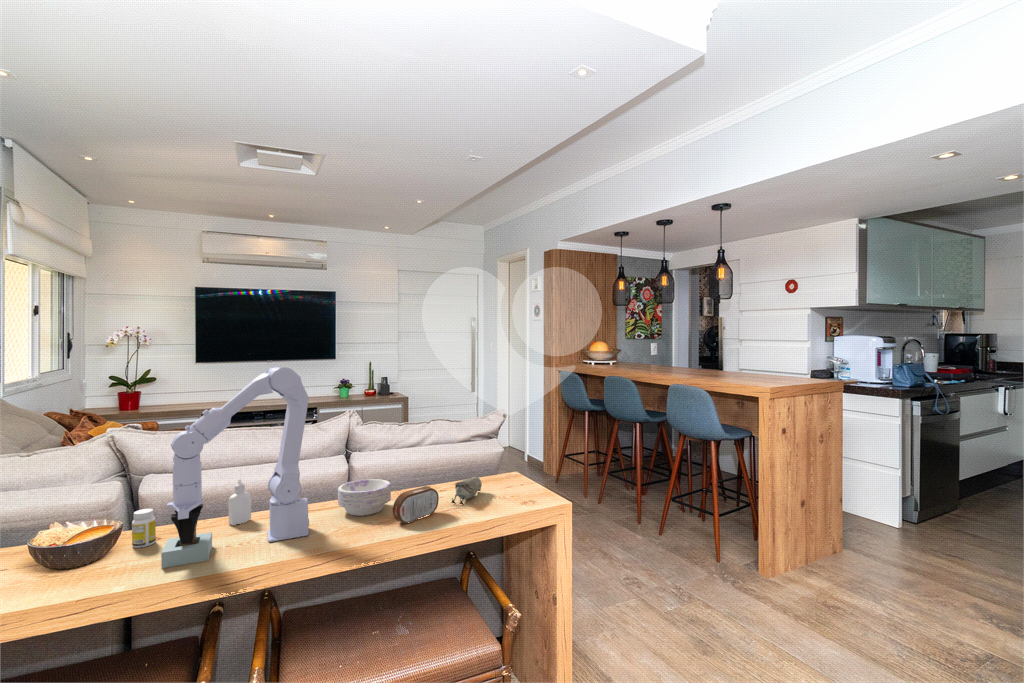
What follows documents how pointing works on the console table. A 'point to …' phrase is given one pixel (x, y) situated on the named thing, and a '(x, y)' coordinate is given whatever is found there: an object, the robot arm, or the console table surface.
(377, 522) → the console table surface
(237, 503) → the eye dropper bottle
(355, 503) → the paper bowls
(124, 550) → the console table surface
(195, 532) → the pin
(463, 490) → the decorative bird
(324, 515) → the console table surface
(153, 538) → the supplement bottle
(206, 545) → the socket block
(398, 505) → the tin
